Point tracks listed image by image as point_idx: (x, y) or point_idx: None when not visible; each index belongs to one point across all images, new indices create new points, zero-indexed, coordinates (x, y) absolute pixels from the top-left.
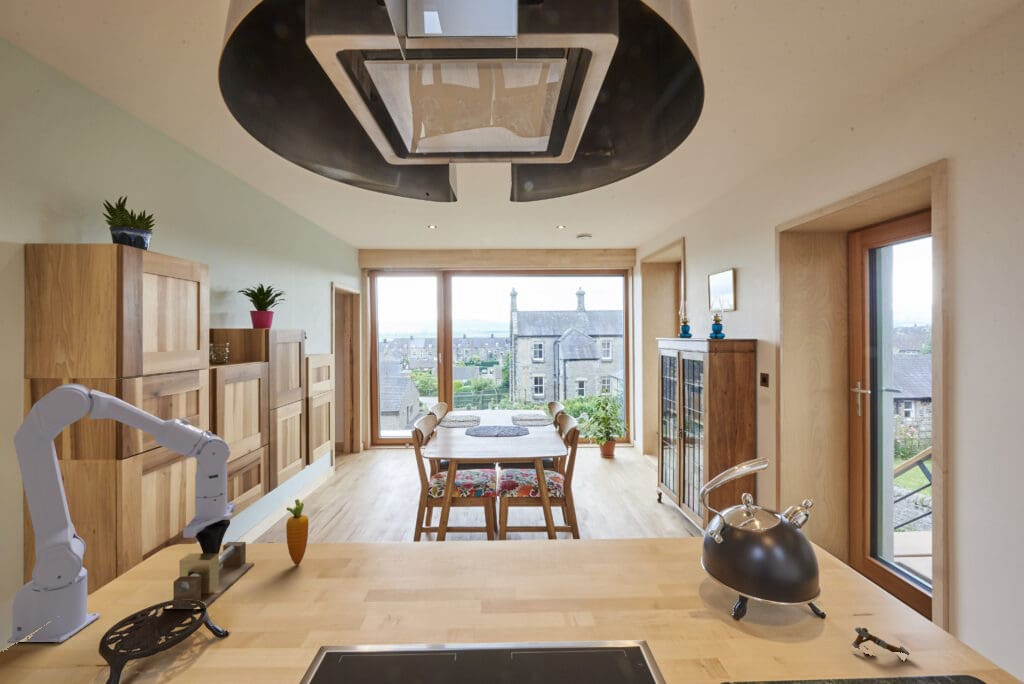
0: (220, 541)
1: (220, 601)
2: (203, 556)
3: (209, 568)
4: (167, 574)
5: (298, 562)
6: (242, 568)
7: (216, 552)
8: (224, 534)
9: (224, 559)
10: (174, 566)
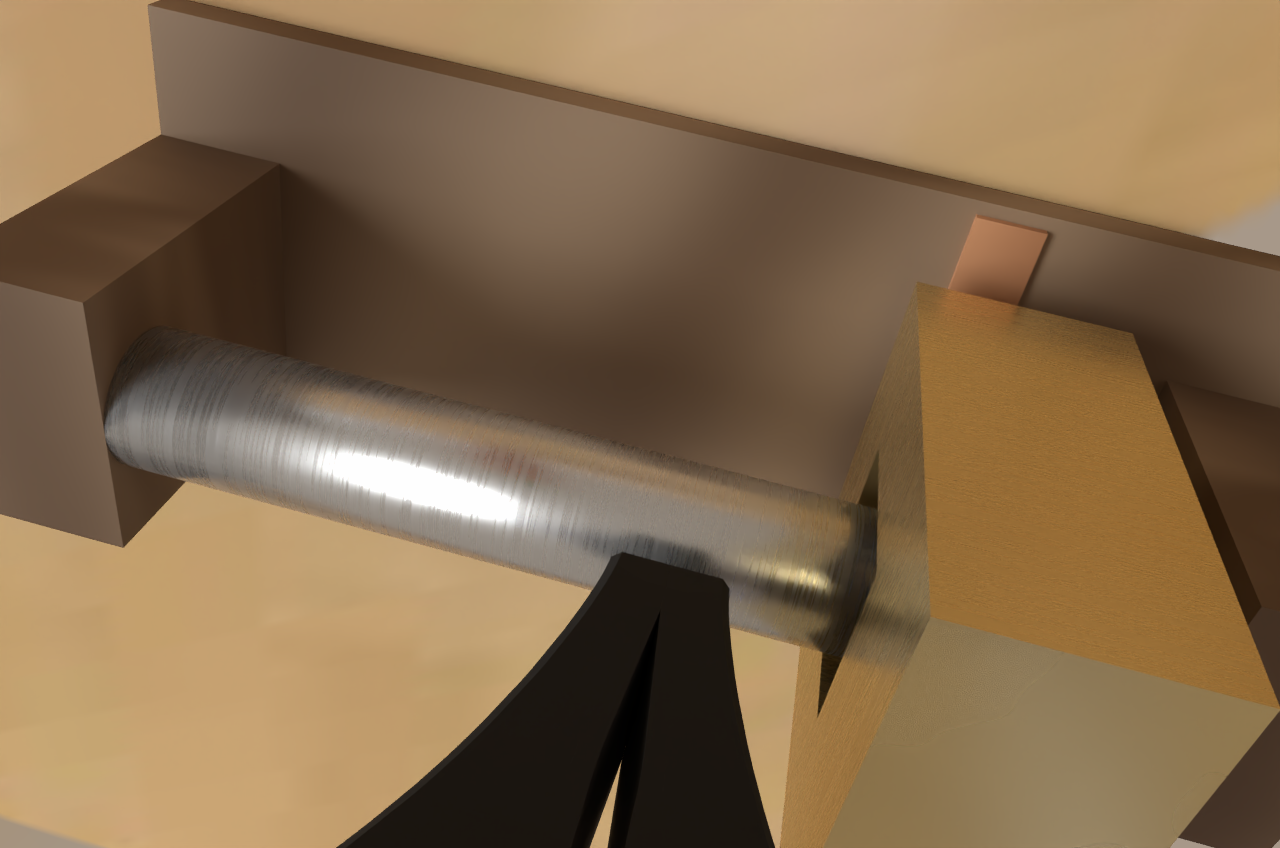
0: (568, 746)
1: (1193, 141)
2: (989, 813)
3: (1224, 580)
4: (390, 755)
5: None
6: (319, 125)
7: (698, 635)
8: (400, 800)
9: (468, 416)
10: (249, 741)
